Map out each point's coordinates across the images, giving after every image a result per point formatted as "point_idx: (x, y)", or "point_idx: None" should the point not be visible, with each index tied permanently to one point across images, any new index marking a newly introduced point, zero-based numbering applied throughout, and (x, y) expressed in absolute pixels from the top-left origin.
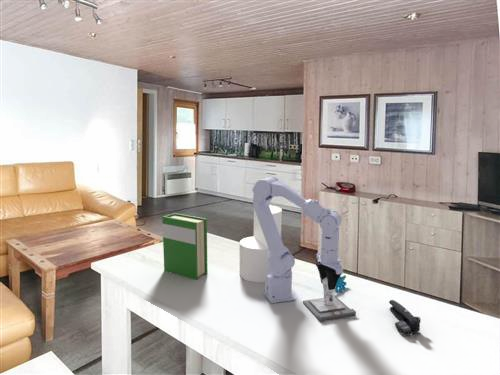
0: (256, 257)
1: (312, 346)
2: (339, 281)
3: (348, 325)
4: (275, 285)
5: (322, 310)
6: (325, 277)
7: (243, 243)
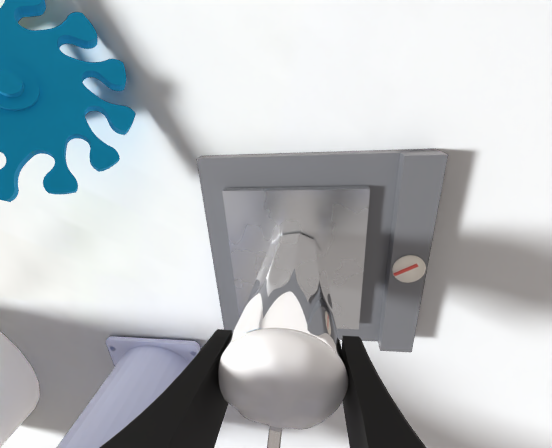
0: None
1: (538, 420)
2: (26, 57)
3: (496, 238)
4: None
5: (354, 316)
6: (216, 391)
7: None
